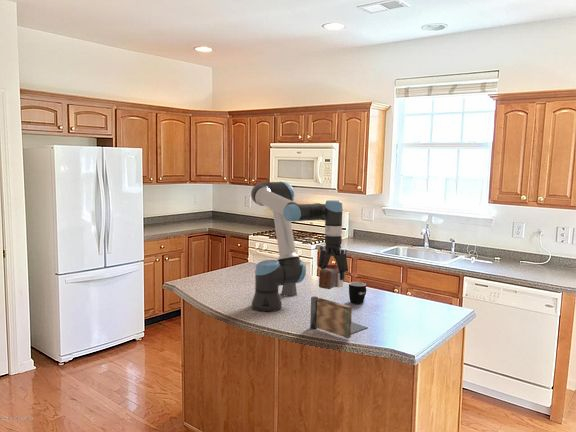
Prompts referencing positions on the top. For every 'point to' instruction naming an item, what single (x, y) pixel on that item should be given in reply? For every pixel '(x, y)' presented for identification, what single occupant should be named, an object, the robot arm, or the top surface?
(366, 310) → the top surface
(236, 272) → the top surface
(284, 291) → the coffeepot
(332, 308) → the gate
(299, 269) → the robot arm
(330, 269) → the food item
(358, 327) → the mat
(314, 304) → the gate post
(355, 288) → the mug
